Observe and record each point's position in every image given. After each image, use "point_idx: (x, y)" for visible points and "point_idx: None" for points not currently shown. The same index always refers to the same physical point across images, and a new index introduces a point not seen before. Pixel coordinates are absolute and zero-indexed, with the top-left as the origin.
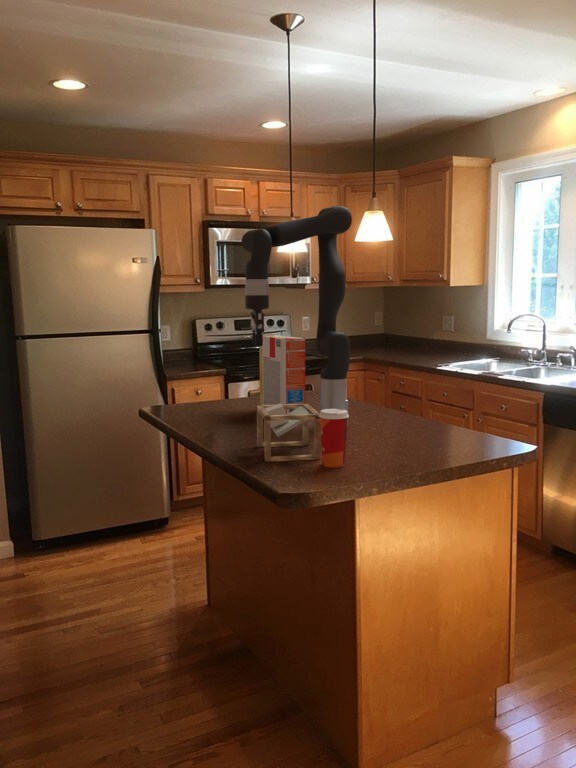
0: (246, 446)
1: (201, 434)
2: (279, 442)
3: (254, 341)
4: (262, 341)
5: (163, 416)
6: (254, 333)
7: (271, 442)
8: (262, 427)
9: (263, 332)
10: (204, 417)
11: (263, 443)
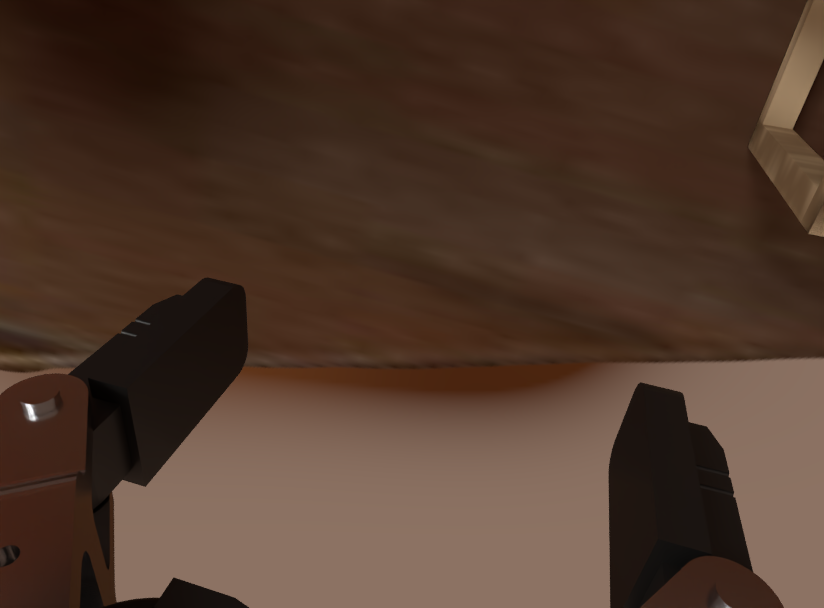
0: (719, 196)
1: (398, 301)
2: (814, 24)
3: (226, 365)
4: (692, 441)
5: (53, 334)
6: (145, 452)
7: (785, 72)
8: (819, 158)
9: (754, 593)
10: (64, 201)
11: (782, 123)
